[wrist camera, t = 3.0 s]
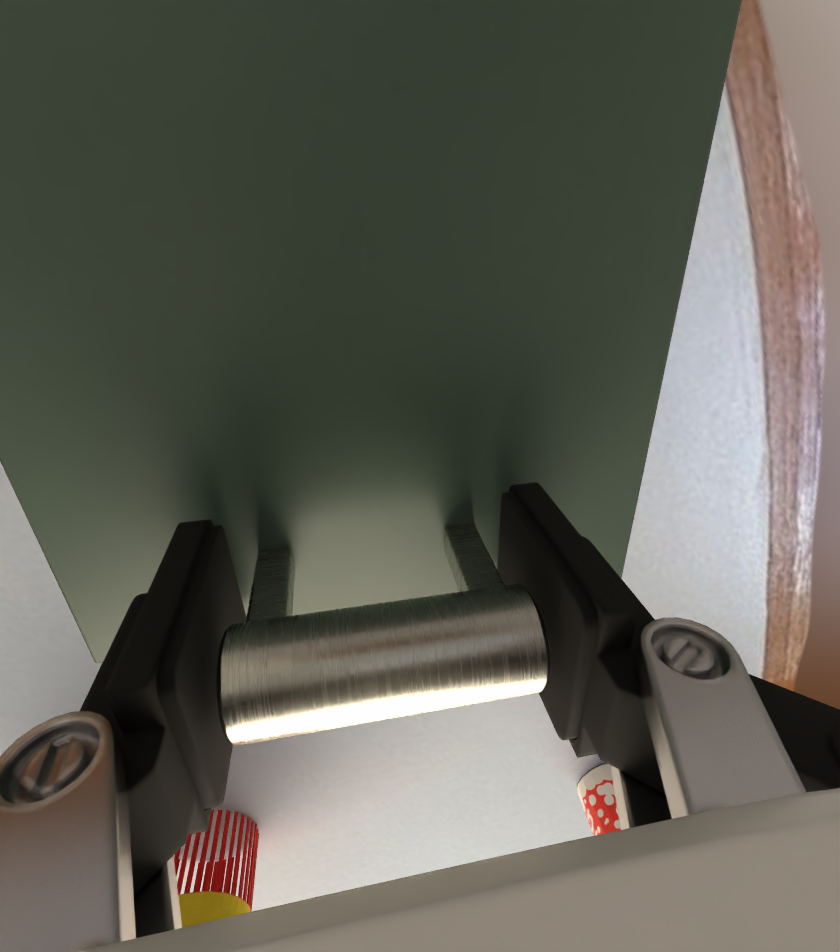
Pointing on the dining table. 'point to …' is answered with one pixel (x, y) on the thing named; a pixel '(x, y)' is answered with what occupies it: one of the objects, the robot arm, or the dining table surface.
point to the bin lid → (342, 313)
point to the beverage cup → (599, 800)
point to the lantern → (217, 876)
